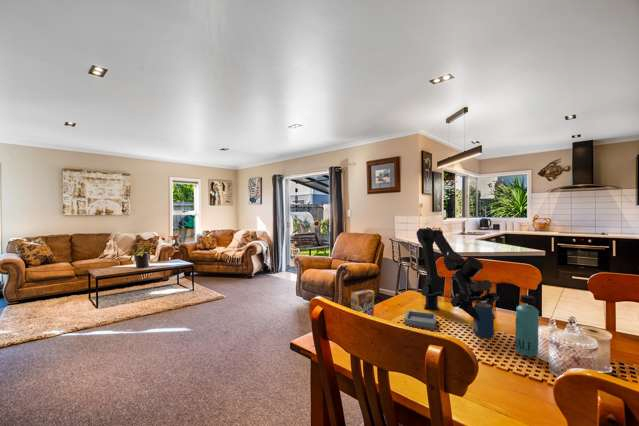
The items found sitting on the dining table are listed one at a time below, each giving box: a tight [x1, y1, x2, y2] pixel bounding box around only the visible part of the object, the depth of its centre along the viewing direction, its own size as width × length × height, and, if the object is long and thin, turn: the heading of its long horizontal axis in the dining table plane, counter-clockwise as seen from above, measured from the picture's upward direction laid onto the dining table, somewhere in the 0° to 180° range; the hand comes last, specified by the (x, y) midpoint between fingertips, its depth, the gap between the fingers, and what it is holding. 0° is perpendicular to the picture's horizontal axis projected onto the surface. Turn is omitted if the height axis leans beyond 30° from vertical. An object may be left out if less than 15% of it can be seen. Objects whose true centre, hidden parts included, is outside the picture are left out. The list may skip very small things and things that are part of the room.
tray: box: [403, 309, 437, 331], centre depth 129 cm, size 12×12×2 cm
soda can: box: [472, 301, 495, 340], centre depth 115 cm, size 7×7×12 cm
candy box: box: [350, 289, 375, 316], centre depth 119 cm, size 9×4×15 cm, turn 123°
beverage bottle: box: [514, 294, 540, 357], centre depth 99 cm, size 6×7×20 cm
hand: (486, 319), depth 114 cm, fingers closed on soda can, 7 cm apart
